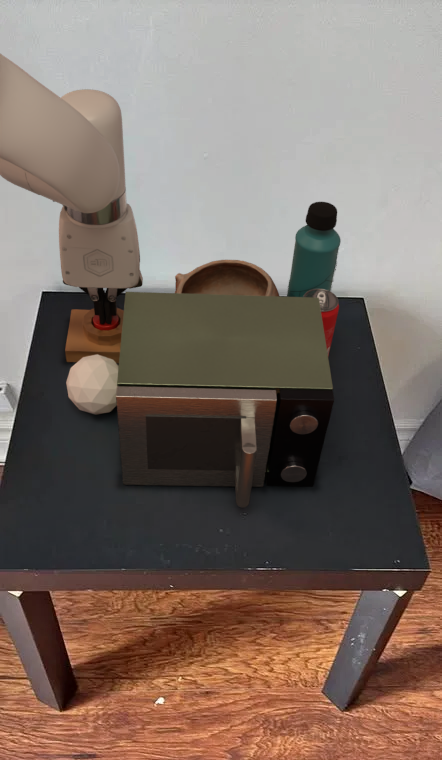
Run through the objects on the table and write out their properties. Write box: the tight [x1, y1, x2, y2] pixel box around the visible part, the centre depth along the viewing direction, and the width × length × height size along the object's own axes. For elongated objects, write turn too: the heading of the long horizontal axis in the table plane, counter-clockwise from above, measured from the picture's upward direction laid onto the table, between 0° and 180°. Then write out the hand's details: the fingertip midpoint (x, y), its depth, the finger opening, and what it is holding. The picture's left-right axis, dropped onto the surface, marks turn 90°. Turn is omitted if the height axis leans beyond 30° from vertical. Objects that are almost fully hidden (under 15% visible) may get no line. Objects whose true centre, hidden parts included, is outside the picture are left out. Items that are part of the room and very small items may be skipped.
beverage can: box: [303, 289, 340, 357], centre depth 104 cm, size 5×5×12 cm
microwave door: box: [116, 386, 277, 508], centre depth 87 cm, size 7×18×16 cm, turn 91°
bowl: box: [174, 259, 280, 296], centre depth 108 cm, size 16×16×10 cm
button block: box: [64, 307, 124, 364], centre depth 108 cm, size 9×11×4 cm
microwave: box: [117, 291, 335, 487], centre depth 93 cm, size 18×24×16 cm
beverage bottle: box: [286, 201, 342, 297], centre depth 107 cm, size 6×7×20 cm
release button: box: [93, 315, 119, 330], centre depth 107 cm, size 4×4×2 cm
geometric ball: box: [65, 354, 119, 415], centre depth 99 cm, size 8×8×8 cm
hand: (106, 317), depth 106 cm, fingers closed
